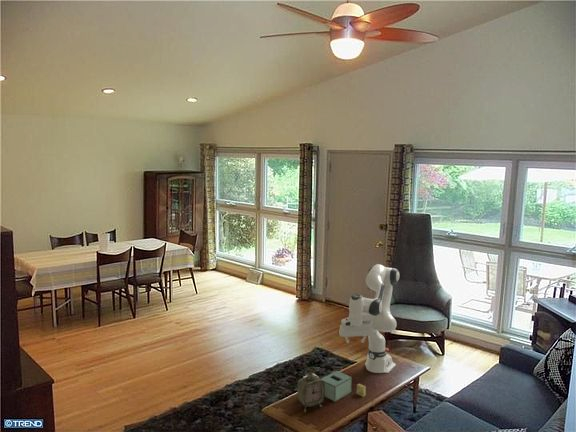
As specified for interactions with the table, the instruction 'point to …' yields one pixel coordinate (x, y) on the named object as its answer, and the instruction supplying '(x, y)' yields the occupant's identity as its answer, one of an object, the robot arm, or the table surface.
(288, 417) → the table surface
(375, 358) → the robot arm
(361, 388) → the wooden yellow block
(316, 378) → the tabletop clock
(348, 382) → the coin box
